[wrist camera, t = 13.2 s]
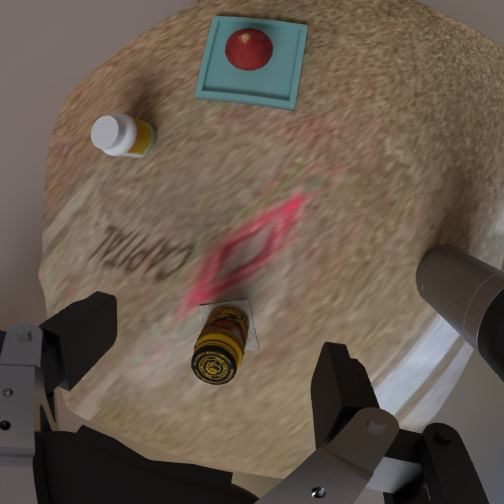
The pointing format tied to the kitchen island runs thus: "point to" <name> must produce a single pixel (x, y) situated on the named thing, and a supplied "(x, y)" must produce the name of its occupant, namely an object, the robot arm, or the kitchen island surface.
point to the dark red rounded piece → (249, 49)
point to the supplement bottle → (123, 136)
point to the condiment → (223, 341)
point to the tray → (258, 81)
